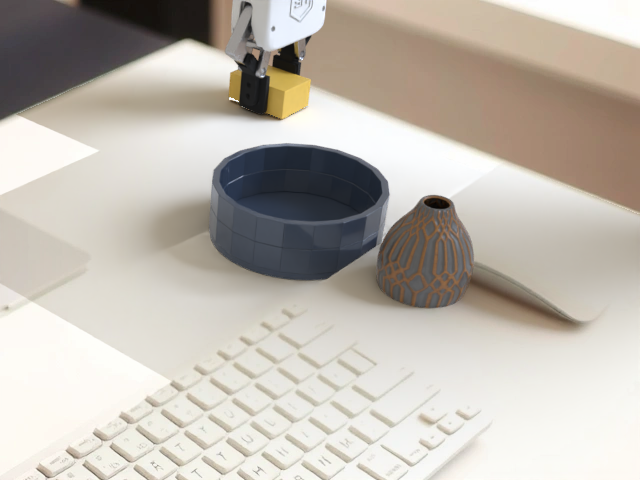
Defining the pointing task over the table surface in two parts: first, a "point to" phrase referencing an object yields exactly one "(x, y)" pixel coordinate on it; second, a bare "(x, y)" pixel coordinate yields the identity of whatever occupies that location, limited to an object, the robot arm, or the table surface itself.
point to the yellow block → (278, 91)
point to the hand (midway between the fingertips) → (268, 100)
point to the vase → (426, 256)
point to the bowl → (296, 209)
